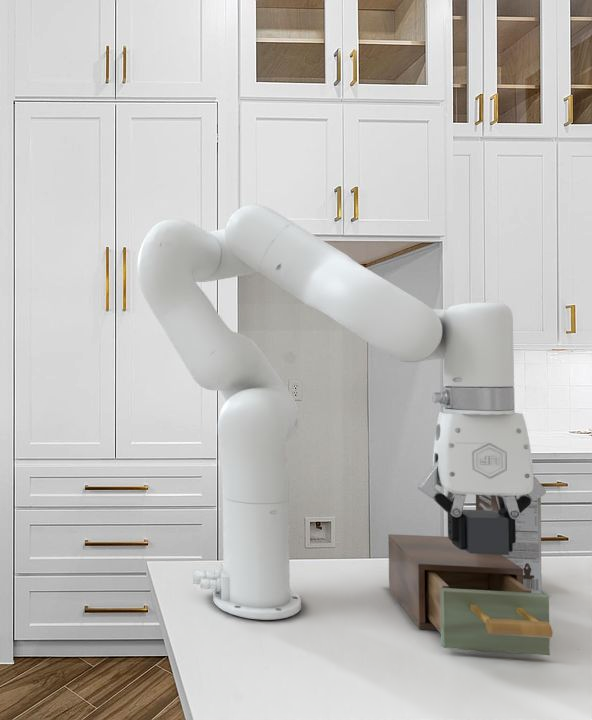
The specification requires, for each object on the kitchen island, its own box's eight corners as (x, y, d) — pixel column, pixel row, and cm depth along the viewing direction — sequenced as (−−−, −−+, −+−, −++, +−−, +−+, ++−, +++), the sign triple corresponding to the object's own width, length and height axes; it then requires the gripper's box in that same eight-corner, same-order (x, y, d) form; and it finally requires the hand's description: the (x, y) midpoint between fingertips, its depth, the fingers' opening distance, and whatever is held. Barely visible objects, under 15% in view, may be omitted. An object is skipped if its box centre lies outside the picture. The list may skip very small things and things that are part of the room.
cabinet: (524, 636, 77) (523, 568, 77) (419, 629, 79) (418, 563, 80) (477, 594, 91) (476, 537, 92) (389, 589, 94) (388, 534, 94)
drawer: (582, 683, 64) (580, 619, 64) (465, 674, 66) (464, 611, 66) (497, 610, 83) (496, 560, 83) (409, 604, 85) (409, 556, 85)
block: (469, 553, 73) (468, 517, 73) (455, 543, 78) (455, 509, 78) (509, 555, 72) (508, 518, 72) (493, 544, 77) (492, 510, 77)
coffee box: (474, 573, 101) (473, 477, 101) (517, 575, 100) (515, 478, 100) (498, 592, 92) (496, 487, 92) (545, 595, 91) (543, 489, 91)
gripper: (415, 403, 73) (418, 553, 73) (570, 403, 70) (574, 560, 70) (398, 400, 81) (400, 536, 80) (537, 400, 78) (540, 542, 77)
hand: (481, 546), depth 75 cm, fingers closed on block, 4 cm apart
